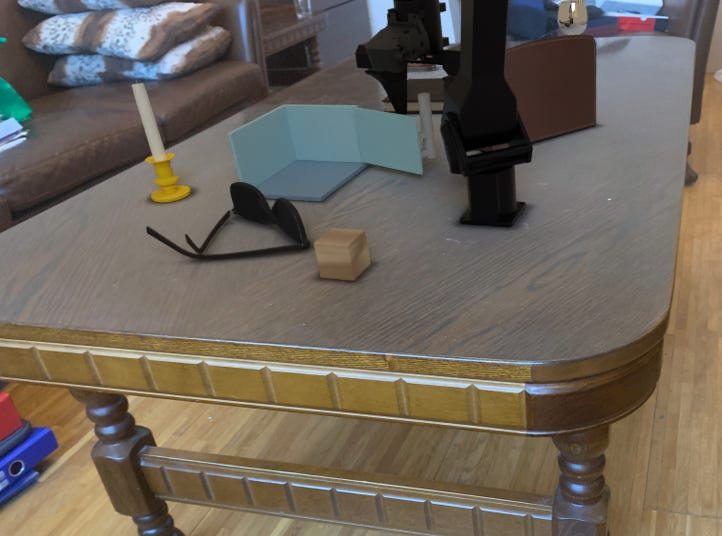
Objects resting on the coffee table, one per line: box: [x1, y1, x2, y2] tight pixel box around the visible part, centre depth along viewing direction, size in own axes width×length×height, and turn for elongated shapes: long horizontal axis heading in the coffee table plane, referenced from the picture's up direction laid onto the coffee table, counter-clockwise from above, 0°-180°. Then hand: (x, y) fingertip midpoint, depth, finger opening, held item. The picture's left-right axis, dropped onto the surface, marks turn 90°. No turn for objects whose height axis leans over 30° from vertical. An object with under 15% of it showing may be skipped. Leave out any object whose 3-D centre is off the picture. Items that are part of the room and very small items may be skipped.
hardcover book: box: [381, 77, 444, 115], centre depth 137 cm, size 16×23×2 cm
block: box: [313, 227, 372, 282], centre depth 80 cm, size 4×4×4 cm
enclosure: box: [226, 103, 369, 203], centre depth 104 cm, size 14×12×9 cm
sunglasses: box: [145, 181, 311, 261], centre depth 87 cm, size 17×14×5 cm
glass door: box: [353, 93, 437, 175], centre depth 104 cm, size 12×4×10 cm, turn 51°
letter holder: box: [479, 34, 597, 152], centre depth 114 cm, size 10×20×14 cm, turn 123°
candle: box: [131, 79, 192, 204], centre depth 101 cm, size 5×5×16 cm
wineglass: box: [557, 0, 588, 36], centre depth 150 cm, size 6×6×12 cm
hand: (429, 123), depth 103 cm, fingers open, 9 cm apart
